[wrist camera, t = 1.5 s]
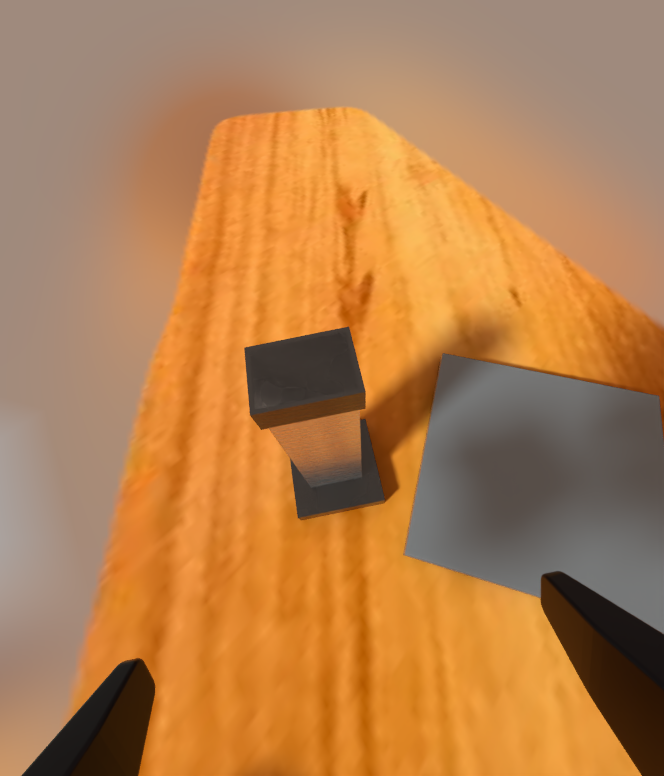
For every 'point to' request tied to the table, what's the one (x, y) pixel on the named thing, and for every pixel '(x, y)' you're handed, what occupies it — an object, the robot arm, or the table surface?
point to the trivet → (543, 484)
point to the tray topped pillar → (316, 419)
